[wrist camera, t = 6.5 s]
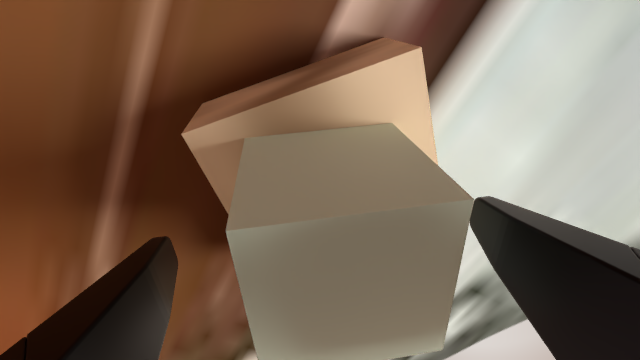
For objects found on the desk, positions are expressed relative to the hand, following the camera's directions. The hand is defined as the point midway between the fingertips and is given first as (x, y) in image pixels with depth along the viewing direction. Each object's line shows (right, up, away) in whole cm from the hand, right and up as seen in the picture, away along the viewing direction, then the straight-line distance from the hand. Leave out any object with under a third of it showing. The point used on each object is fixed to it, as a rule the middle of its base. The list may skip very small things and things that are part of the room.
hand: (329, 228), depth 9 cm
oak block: (0, +3, +6) cm, 7 cm away
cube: (0, +1, +3) cm, 3 cm away
